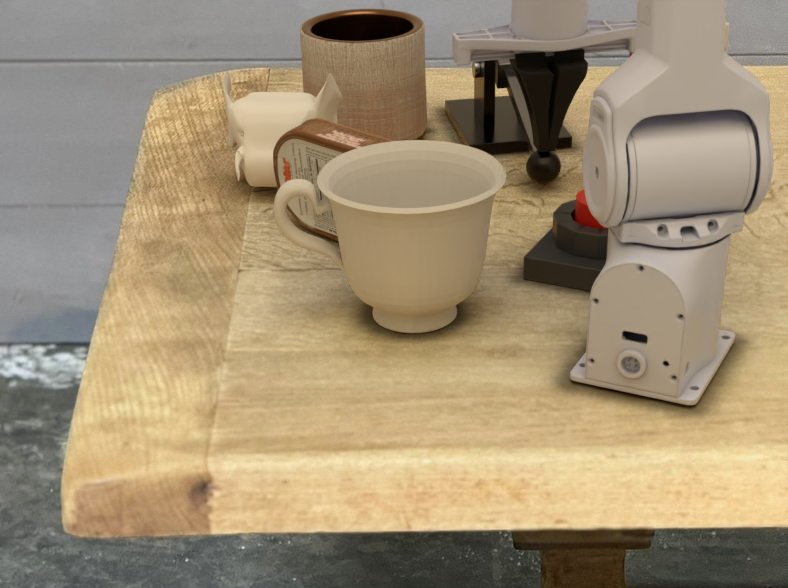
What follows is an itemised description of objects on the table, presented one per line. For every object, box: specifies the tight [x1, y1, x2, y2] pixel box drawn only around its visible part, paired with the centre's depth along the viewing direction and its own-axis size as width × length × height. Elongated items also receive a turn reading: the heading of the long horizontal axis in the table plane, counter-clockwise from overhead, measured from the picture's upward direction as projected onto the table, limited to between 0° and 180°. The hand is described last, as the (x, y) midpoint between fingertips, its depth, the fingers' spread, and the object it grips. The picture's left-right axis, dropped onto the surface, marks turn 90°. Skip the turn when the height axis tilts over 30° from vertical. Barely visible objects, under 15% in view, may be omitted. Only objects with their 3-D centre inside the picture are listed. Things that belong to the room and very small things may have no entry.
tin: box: [273, 118, 393, 242], centre depth 97 cm, size 15×3×8 cm, turn 48°
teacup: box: [273, 139, 507, 334], centre depth 87 cm, size 12×15×10 cm
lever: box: [495, 59, 562, 185], centre depth 111 cm, size 17×3×3 cm, turn 8°
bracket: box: [444, 60, 573, 155], centre depth 117 cm, size 12×9×7 cm
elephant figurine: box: [221, 71, 343, 188], centre depth 107 cm, size 10×12×9 cm
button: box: [575, 188, 607, 229], centre depth 93 cm, size 4×4×2 cm
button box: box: [522, 199, 609, 292], centre depth 95 cm, size 10×8×4 cm
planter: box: [299, 8, 428, 141], centre depth 116 cm, size 11×11×10 cm
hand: (544, 147), depth 105 cm, fingers closed
